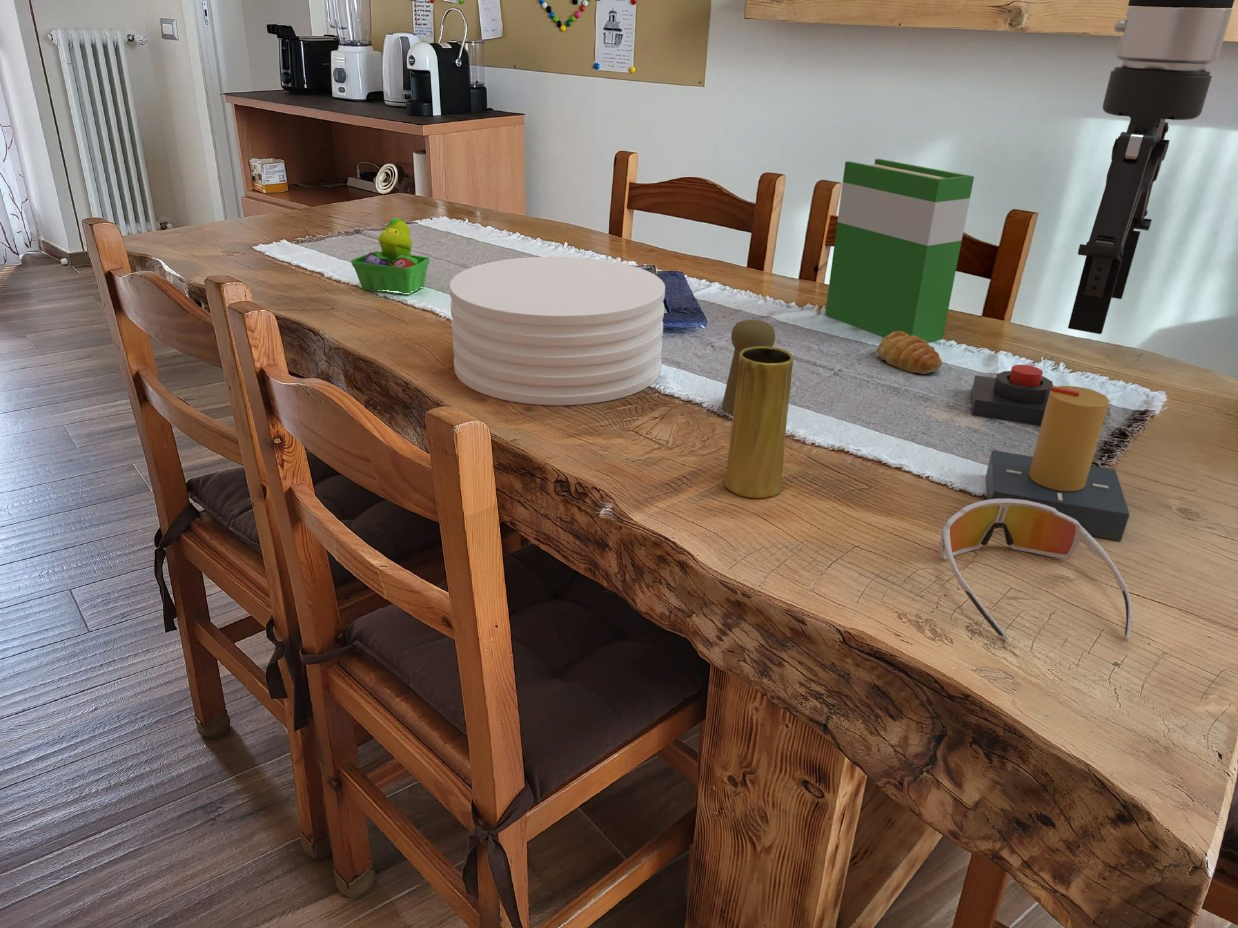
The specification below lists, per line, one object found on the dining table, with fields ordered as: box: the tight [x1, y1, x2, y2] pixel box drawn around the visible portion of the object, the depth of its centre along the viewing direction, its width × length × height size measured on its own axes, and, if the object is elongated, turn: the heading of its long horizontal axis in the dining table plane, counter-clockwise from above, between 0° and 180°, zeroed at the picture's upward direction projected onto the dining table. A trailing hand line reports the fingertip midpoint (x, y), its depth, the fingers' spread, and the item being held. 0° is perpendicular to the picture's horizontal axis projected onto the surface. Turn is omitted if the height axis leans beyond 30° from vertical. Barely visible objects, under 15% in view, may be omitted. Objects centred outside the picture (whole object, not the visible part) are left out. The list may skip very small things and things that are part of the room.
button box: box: [971, 370, 1057, 427], centre depth 114 cm, size 11×9×4 cm
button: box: [1009, 364, 1044, 386], centre depth 113 cm, size 4×4×2 cm
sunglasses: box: [939, 499, 1133, 641], centre depth 78 cm, size 14×15×5 cm
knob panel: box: [985, 449, 1130, 542], centre depth 92 cm, size 12×10×3 cm
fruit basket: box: [350, 217, 431, 296], centre depth 153 cm, size 11×9×11 cm
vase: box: [723, 346, 795, 499], centre depth 91 cm, size 6×6×14 cm
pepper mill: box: [721, 319, 776, 416], centre depth 111 cm, size 6×6×11 cm
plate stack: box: [449, 256, 666, 406], centre depth 122 cm, size 28×28×12 cm
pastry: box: [876, 331, 943, 375], centre depth 128 cm, size 9×7×4 cm
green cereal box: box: [824, 158, 975, 344], centre depth 139 cm, size 18×7×24 cm, turn 33°
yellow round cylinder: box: [1029, 385, 1110, 492], centre depth 89 cm, size 5×5×9 cm
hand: (1096, 312), depth 86 cm, fingers open, 13 cm apart
